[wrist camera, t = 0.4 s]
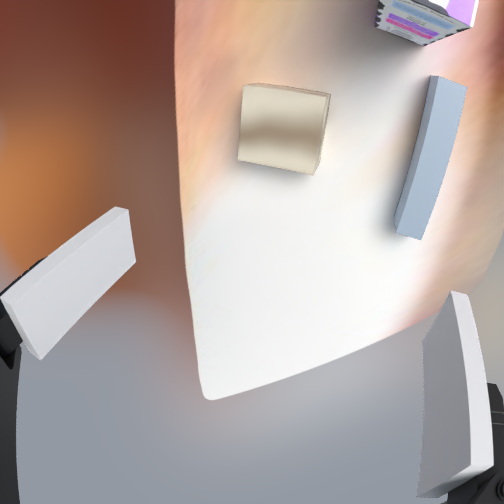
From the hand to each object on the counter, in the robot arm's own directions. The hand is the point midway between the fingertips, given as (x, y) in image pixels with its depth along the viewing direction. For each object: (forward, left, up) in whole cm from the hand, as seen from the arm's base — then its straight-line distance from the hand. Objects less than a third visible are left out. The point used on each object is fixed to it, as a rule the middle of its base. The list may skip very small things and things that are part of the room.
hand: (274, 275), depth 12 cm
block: (0, -6, -26) cm, 27 cm away
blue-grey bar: (-1, +10, -26) cm, 28 cm away
